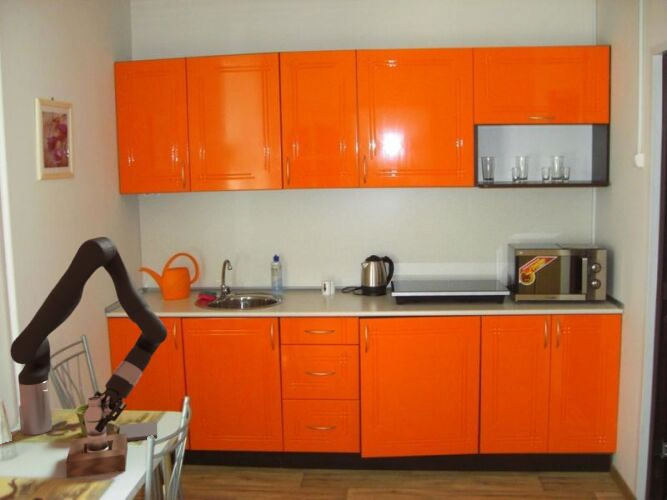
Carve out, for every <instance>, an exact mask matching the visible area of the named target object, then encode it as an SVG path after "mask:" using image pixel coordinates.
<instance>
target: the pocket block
mask: <svg viewBox="0 0 667 500" xmlns="http://www.w3.org/2000/svg"><path fill="white" fill-rule="evenodd" d="M106 436H107V442H108V447H109V451H100V452H92V453H87V443H88V438H87V437H81V438H72V439H71V443H70V446H69V449H68V453H67V456H66V460H65V469H66V470H65V472H66V479H72V478H80V477H88V476H95V475H96V476H97V475H103V474H111V473H112V474H113V473H118V472H119V473H120V472H121V473H122V472H126V469H127V458H128V451H129V449H128V441H127V433H125V434H119V433H117V434H108V435H107V434H106Z"/></svg>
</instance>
